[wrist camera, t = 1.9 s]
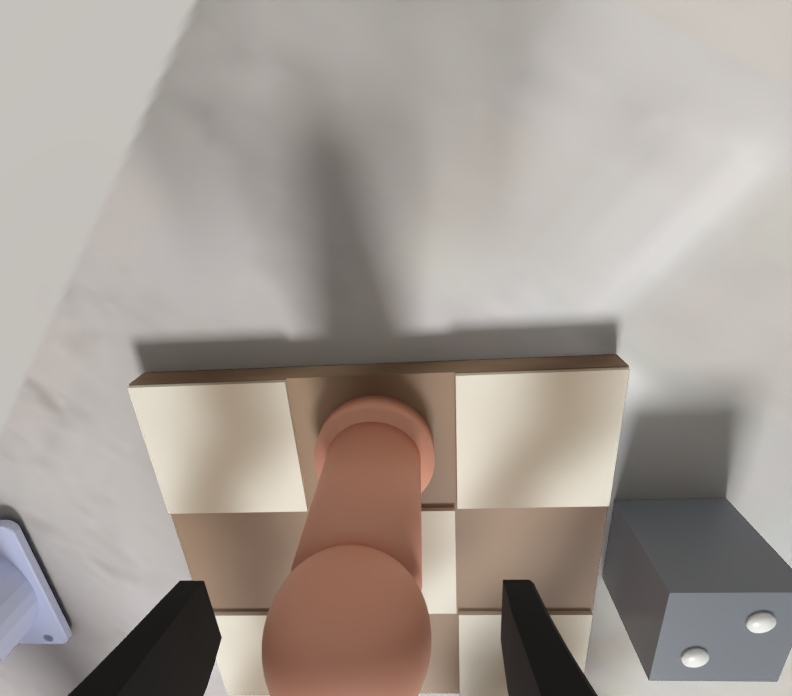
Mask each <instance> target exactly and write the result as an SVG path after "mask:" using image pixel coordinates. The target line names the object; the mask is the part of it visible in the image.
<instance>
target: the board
mask: <svg viewBox="0 0 792 696" xmlns="http://www.w3.org/2000/svg"><path fill="white" fill-rule="evenodd" d="M629 371H630V369H629V366H628V365H627V364H626V363H625V362H624V361H623V360H622V359H621V358H620V357H619V356H618V355H617V354H615V355H590V356H564V357H538V358H512V359H487V360H461V361H435V362H409V363H384V364H358V365H332V366H307V367H281V368H255V369H229V370H204V371H178V372H152V373H143V374H142V375H141V376H139V377H138V378H137V379H135V380H134V381H133V382H131V383H130V384H129V387H128V388H127V389H128V392H129V395H130V398H131V401H132V404H133V407H134V410H135V413H136V416H137V419H138V422H139V425H140V428H141V431H142V434H143V437H144V441H145V444H146V447H147V450H148V453H149V456H150V459H151V462H152V465H153V468H154V471H155V474H156V477H157V480H158V483H159V486H160V490H161V493H162V496H163V499H164V502H165V505H166V508H167V511H168V514H171V516H172V519H173V522H174V525H175V528H176V531H177V534H178V537H179V540H180V543H181V547H182V550H183V553H184V556H185V559H186V562H187V565H188V568H189V571H190V574H191V577H192V581H204V582H205V585H206V589H207V592H208V595H209V598H210V601H211V605H212V608H213V611H214V614H215V617H216V621H217V624H218V627H219V630H220V633H221V637H222V639H221V642H220V646H219V649H218V652H217V656H216V661H217V664H218V667H219V670H220V673H221V676H222V679H223V682H224V685H225V688H226V692H227V695H270V694H269V691H268V688H267V685H266V682H265V679H264V673H263V666H262V636H263V629H264V625H265V621H266V617H267V614H268V611H269V608H270V606H271V604H272V601H273V599H274V597H275V595H276V593H277V591H278V590H279V588H280V586H281V585H282V584H283V582H284V581H285V579H286V578H287V577H288V576H289V574H290V573H291V568H292V564H293V561H294V557H295V554H296V551H297V548H298V545H299V542H300V538H301V535H302V532H303V529H304V526H305V523H306V519H307V516H308V513H309V510H310V507H311V504H312V500H313V497H314V494H315V491H316V488H317V484H318V481H319V477H318V474H317V472H316V469H315V465H314V449H315V444H316V442H317V439H318V436H319V433H320V431H321V428H322V426H323V423H324V421H325V420H326V418H327V417H328V415H329V414H330V413H331V412H332V411H333V410H334V409H335V408H336V407H338V406H339V405H341V404H342V403H344V402H346V401H348V400H351V399H353V398H356V397H361V396H368V395H380V396H387V397H391V398H395V399H397V400H400V401H402V402H404V403H406V404H408V405H410V406H411V407H412V408H414V409H415V410H416V411H417V412H418V413H420V414H421V416H422V417H423V418H424V419H425V421H426V422H427V424H428V425H429V428H430V430H431V432H432V436H433V442H434V457H435V465H434V472H433V475H432V478H431V480H430V482H429V484H428V486H427V487H426V488H425V489H424V491H423V492H422V493H421V523H422V590H421V592H422V594H423V597H424V599H425V602H426V605H427V608H428V613H429V617H430V624H431V633H432V640H431V656H430V662H429V667H428V671H427V674H426V677H425V680H424V683H423V685H422V688H421V690H420V692H419V693H460V696H509V695H508V690H507V683H506V676H505V669H504V661H503V654H502V647H501V614H502V589H503V580H531V581H532V582H533V583H534V584H535V587H536V589H537V591H538V593H539V595H540V597H541V599H542V601H543V603H544V605H545V607H546V609H547V611H548V613H549V615H550V617H551V619H552V620H553V622H554V624H555V626H556V628H557V629H558V631H559V633H560V635H561V637H562V638H563V640H564V642H565V644H566V645H567V647H568V649H569V650H570V652H571V654H572V655H573V657H574V659H575V660H576V662H577V664H578V665H579V667H580V668H581V670H582V672H583V673H584V670H585V663H586V657H587V650H588V643H589V637H590V630H591V624H592V617H593V614H592V609H593V603H594V596H595V589H596V583H597V576H598V569H599V562H600V556H601V549H602V542H603V536H604V529H605V522H606V515H607V509H608V506H609V504H610V497H611V491H612V484H613V477H614V471H615V464H616V457H617V451H618V444H619V437H620V431H621V424H622V418H623V411H624V404H625V398H626V391H627V384H628V378H629Z"/></svg>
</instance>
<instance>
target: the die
mask: <svg viewBox="0 0 792 696" xmlns="http://www.w3.org/2000/svg"><path fill="white" fill-rule="evenodd" d="M602 578H603V580H604V582H605V584H606V587H607V589H608V591H609V593H610V595H611V598H612V600H613V602H614V604H615V607H616V609H617V611H618V613H619V615H620V618H621V620H622V622H623V624H624V626H625V629H626V631H627V633H628V635H629V638H630V640H631V642H632V644H633V646H634V649H635V651H636V653H637V655H638V657H639V660H640V662H641V664H642V666H643V669H644V671H645V673H646V675H647V677H648V680H652V681H769V682H777V681H778V679H779V677H780V674H781V672H782V669H783V667H784V664H785V662H786V659H787V657H788V655H789V652H790V650H791V647H792V568H791V567H790V566H789V565H788V564H787V563H786V562H785V561H784V560H783V559H782V558H781V557H780V556H779V555H778V553H777V552H776V551H775V550H774V549H773V548H772V547H771V546H770V545H769V544H768V543H767V542H766V541H765V540H764V538H763V537H762V536H761V535H760V534H759V533H758V532H757V531H756V530H755V529H754V528H753V527H752V526H751V525H750V523H749V522H748V521H747V520H746V519H745V518H744V517H743V516H742V515H741V514H740V513H739V512H738V511H737V510H736V508H735V507H734V506H733V505H732V504H731V503H730V502H729V501H728V500H727V499H726V498H693V499H637V500H614V506H613V513H612V519H611V525H610V532H609V538H608V545H607V551H606V558H605V564H604V570H603V577H602Z"/></svg>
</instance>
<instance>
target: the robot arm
mask: <svg viewBox="0 0 792 696" xmlns="http://www.w3.org/2000/svg"><path fill="white" fill-rule="evenodd" d="M71 635H72V632H71V629H70V627H69V625H68V623H67V621H66V619H65V617H64V615H63V613H62V611H61V609H60V607H59V605H58V603H57V601H56V599H55V597H54V595H53V593H52V591H51V589H50V587H49V585H48V583H47V581H46V579H45V577H44V575H43V573H42V571H41V569H40V567H39V565H38V563H37V561H36V559H35V557H34V555H33V552H32V550H31V548H30V546H29V544H28V542H27V540H26V538H25V536H24V534H23V532H22V530H21V528H20V527H19V525H18V524H17V523H15V522H14V521H11V520H0V664H1V663H2V661H3V660H4V659H5V658H6V657H7V656H8V654H9V653H10V652H11V651H12V650H13V648H14V647H15V646H16V645H17V644H63V643H66V642H67V641H68V639H69V638H70V637H71ZM221 639H222V637H221V633H220V630H219V627H218V624H217V621H216V617H215V614H214V611H213V608H212V605H211V601H210V598H209V595H208V592H207V589H206V585H205V582H204V581H179V582H178V583H177V584H176V586H175V587H174V588H173V589H172V590H171V591H170V592H169V593H168V594H167V595H166V596H165V597H164V598H163V599H162V600H161V601H160V602H159V603H158V604H157V605H156V606H155V607H154V608H153V609H152V610H151V611H150V613H149V614H148V615H147V616H146V617H145V618H144V619H143V620H142V621H141V622H140V623H139V624H138V625H137V626H136V627H135V628H134V629H133V630H132V631H131V632H130V633H129V635H128V636H127V637H126V638H125V639H124V640H123V641H122V642H121V643H120V644H119V645H118V646H117V647H116V648H115V649H114V650H113V651H112V652H111V653H110V654H109V655H108V656H107V657H106V658H105V659H104V660H103V661H102V662H101V663H100V664H99V665H98V666H97V667H96V668H95V669H94V670H93V671H92V672H91V673H90V674H89V675H88V676H87V677H86V678H85V679H84V680H83V681H82V682H81V683H80V684H79V685H78V686H77V687H76V688H75V689H74V690H73V691H72V692H71V693H70V694H69V695H68V696H203V695H204V693H205V690H206V688H207V685H208V682H209V679H210V675H211V672H212V669H213V666H214V663H215V659H216V656H217V652H218V649H219V646H220V642H221ZM501 647H502V654H503V661H504V669H505V676H506V683H507V690H508V695H509V696H597V694H596V693H595V691H594V689H593V688H592V686H591V685H590V683H589V681H588V680H587V678H586V677H585V675H584V673H583V672H582V670H581V668H580V667H579V665H578V664H577V662H576V660H575V659H574V657H573V655H572V654H571V652H570V650H569V649H568V647H567V645H566V644H565V642H564V640H563V638H562V637H561V635H560V633H559V631H558V629H557V628H556V626H555V624H554V622H553V620H552V619H551V617H550V615H549V613H548V611H547V609H546V607H545V605H544V603H543V601H542V599H541V597H540V595H539V593H538V591H537V589H536V587H535V584H534V583H533V582H532V581H531V580H503V589H502V614H501Z"/></svg>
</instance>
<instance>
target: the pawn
mask: <svg viewBox="0 0 792 696" xmlns="http://www.w3.org/2000/svg"><path fill="white" fill-rule="evenodd" d="M314 465H315V469H316V472H317V474H318V477H319V481H318V484H317V488H316V491H315V494H314V497H313V500H312V504H311V507H310V510H309V513H308V516H307V519H306V523H305V526H304V529H303V532H302V535H301V538H300V542H299V545H298V548H297V551H296V554H295V557H294V561H293V564H292V568H291V573H290V574H289V576H288V577H287V578H286V579H285V581H284V582H283V584H282V585H281V586H280V588H279V590H278V591H277V593H276V595H275V597H274V599H273V601H272V604H271V606H270V608H269V611H268V614H267V617H266V621H265V625H264V629H263V636H262V666H263V673H264V679H265V682H266V685H267V688H268V691H269V694H270V696H418V694H419V692H420V690H421V688H422V685H423V683H424V680H425V677H426V674H427V671H428V667H429V662H430V656H431V640H432V633H431V624H430V617H429V613H428V608H427V605H426V602H425V599H424V597H423V594H422V592H421V590H422V523H421V493H422V492H423V491H424V489H425V488H426V487H427V486H428V484H429V482H430V480H431V478H432V475H433V472H434V465H435V457H434V442H433V436H432V432H431V430H430V428H429V425H428V424H427V422H426V421H425V419H424V418H423V417H422V416H421V414H420V413H418V412H417V411H416V410H415V409H414V408H412V407H411V406H410V405H408V404H406V403H404V402H402V401H400V400H397V399H395V398H391V397H387V396H380V395H368V396H361V397H356V398H353V399H351V400H348V401H346V402H344V403H342V404H341V405H339V406H338V407H336V408H335V409H334V410H333V411H332V412H331V413H330V414H329V415H328V417H327V418H326V420H325V421H324V423H323V426H322V428H321V431H320V433H319V436H318V439H317V442H316V444H315V449H314Z"/></svg>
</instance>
